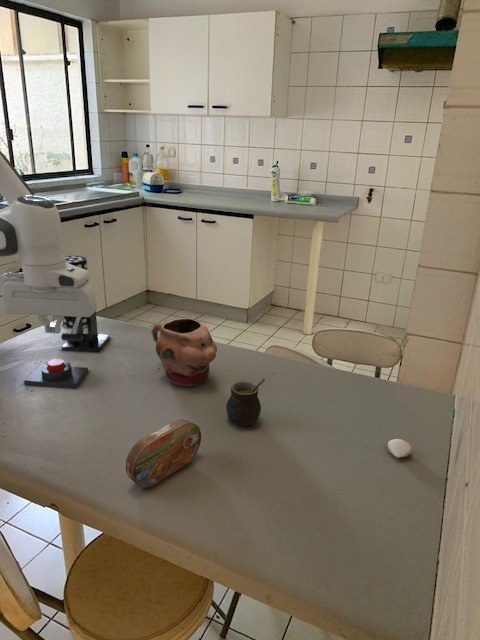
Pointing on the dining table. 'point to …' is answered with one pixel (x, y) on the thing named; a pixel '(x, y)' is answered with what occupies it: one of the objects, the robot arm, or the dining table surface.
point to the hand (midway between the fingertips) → (53, 332)
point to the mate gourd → (244, 403)
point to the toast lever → (73, 332)
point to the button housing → (57, 376)
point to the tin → (163, 452)
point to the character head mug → (184, 350)
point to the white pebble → (399, 448)
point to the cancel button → (55, 365)
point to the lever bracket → (87, 337)
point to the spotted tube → (82, 263)
